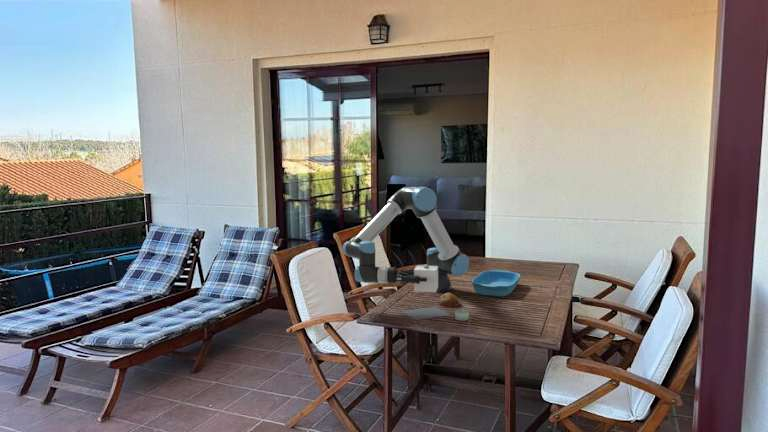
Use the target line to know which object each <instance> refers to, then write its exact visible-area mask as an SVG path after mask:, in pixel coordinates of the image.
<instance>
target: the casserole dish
mask: <svg viewBox="0 0 768 432" xmlns="http://www.w3.org/2000/svg"><path fill="white" fill-rule="evenodd" d="M520 278H521V274H520V273H517V272H513V271H509V270H496V269H495V270H491V269H490V270H484V271H482V272H479V274H478V275H476V276H475V277H474V278H473V279H472V280H471V284H472V286H473V290H474V291H475V293H476V294H477V295H483V296H491V297H507V296H509V295H510V294H511V293H512V292H513V291H514V290H515V288H517V286H518V284H519V281H520Z"/></svg>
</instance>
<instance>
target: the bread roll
mask: <svg viewBox="0 0 768 432" xmlns="http://www.w3.org/2000/svg"><path fill="white" fill-rule="evenodd" d="M460 303H461V300H460V298H458V296H456V295H455V294H453V293H451V292H446V293H444V294H442V295H440V297H439V298H438V305H439V306H440V307H446V308H448V307H449V308H455V307H456V308H457V307H458V306H460V305H461V304H460Z"/></svg>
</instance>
